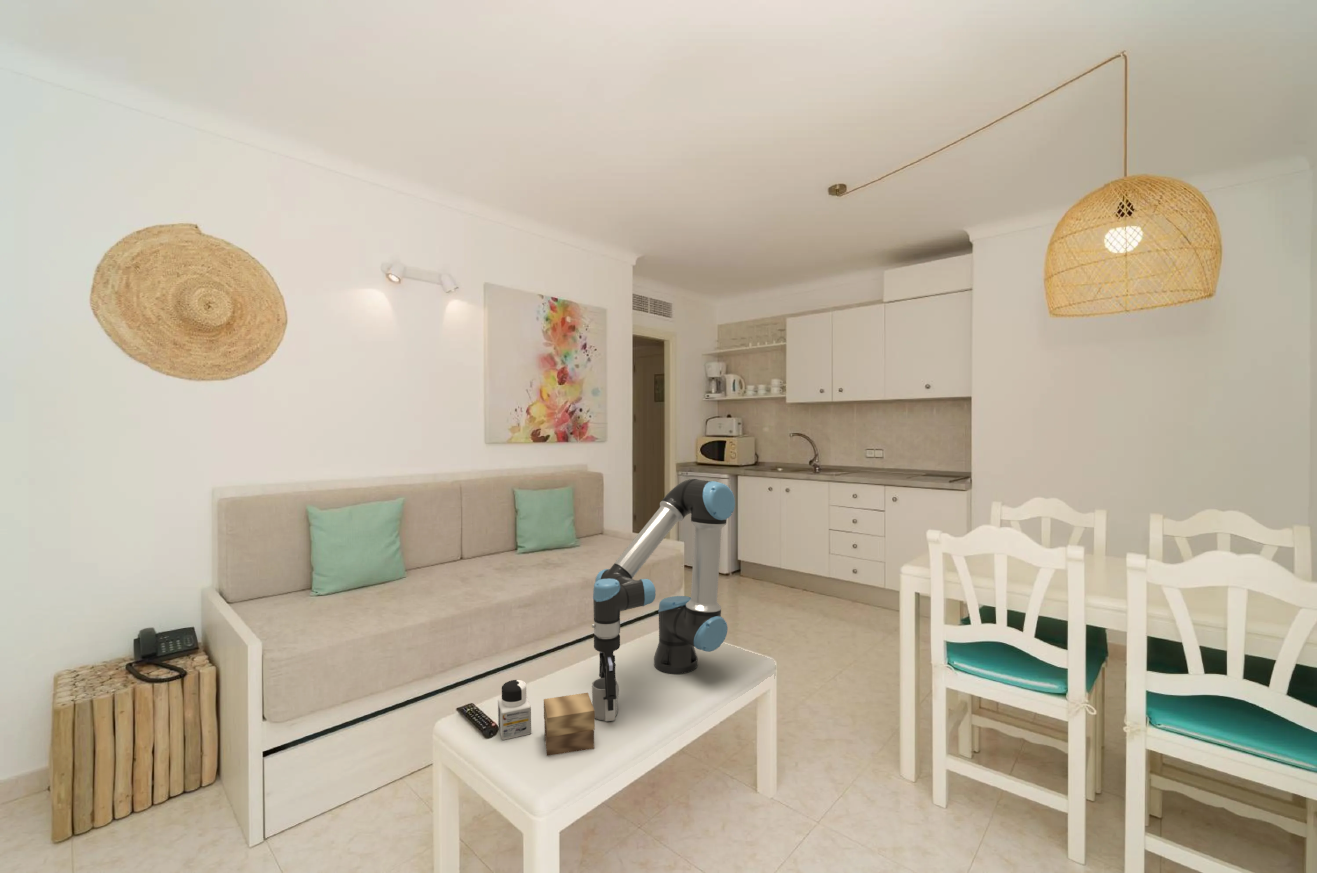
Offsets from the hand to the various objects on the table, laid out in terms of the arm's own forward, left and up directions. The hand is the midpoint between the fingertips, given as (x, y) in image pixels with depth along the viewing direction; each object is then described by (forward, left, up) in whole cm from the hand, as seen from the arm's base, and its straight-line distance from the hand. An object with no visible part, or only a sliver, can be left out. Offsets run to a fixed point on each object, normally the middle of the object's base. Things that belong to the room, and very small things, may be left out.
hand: (607, 712), depth 161 cm
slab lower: (+12, +11, -1) cm, 16 cm away
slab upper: (+12, +11, +4) cm, 17 cm away
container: (+26, +2, -1) cm, 26 cm away
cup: (0, -1, 0) cm, 1 cm away
